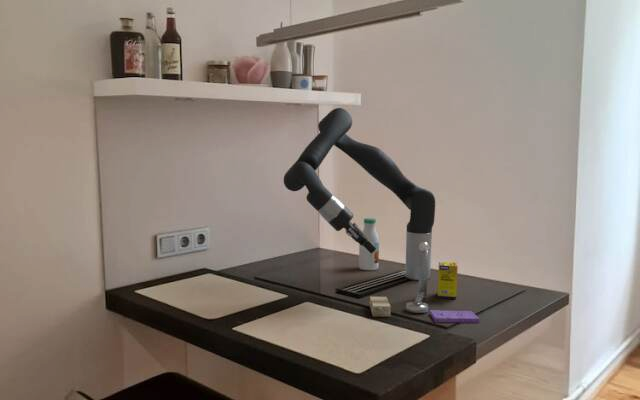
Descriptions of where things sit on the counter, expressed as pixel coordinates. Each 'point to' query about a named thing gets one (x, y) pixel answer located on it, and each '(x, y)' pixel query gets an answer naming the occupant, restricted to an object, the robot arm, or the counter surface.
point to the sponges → (454, 316)
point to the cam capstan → (421, 282)
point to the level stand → (380, 306)
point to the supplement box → (447, 280)
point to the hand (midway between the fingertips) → (373, 250)
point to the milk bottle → (365, 257)
